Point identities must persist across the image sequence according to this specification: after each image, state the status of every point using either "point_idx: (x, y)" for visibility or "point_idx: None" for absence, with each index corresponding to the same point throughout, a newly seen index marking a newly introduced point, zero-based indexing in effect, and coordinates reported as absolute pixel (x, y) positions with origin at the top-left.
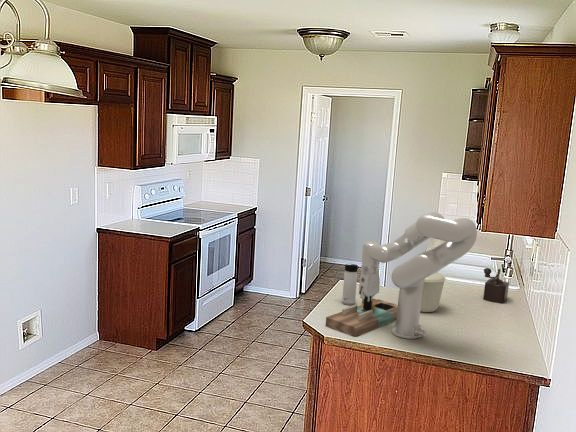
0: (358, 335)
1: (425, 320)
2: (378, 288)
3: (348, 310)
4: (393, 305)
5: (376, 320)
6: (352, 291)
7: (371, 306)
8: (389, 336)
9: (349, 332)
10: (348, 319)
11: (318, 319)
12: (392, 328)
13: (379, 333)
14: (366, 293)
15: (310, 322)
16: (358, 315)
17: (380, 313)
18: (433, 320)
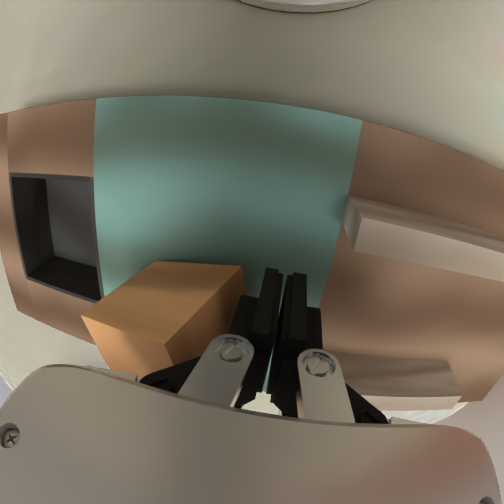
0: None
1: (25, 17)
2: (21, 444)
3: (419, 384)
4: (4, 197)
5: (394, 129)
6: None
7: (225, 289)
8: (434, 7)
9: None
10: (491, 317)
11: (401, 415)
12: (333, 2)
13: (440, 75)
14: (496, 478)
15: (445, 413)
16: None
17: (192, 175)
18: (12, 5)
